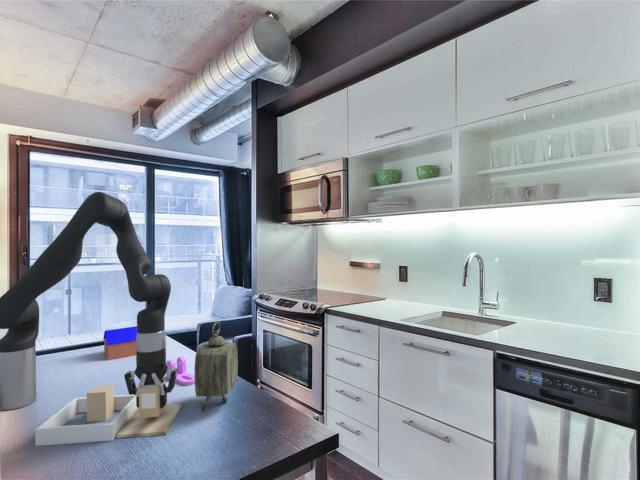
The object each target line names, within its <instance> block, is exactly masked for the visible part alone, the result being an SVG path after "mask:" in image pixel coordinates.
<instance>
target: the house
mask: <svg viewBox="0 0 640 480" xmlns="http://www.w3.org/2000/svg"><path fill="white" fill-rule="evenodd" d="M136 337H137V325H136V326H129V327H122V328H115V329H113V328H112V329H108V330H104V334H103V337H102V340H103V342H104V343H103V345H104V347H103V351H104V353H103V354H104V356H105V358H106V359H107V360H108V361H111V360H118V359H123V358H129V357H134V356H136Z"/></svg>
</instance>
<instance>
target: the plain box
mask: <svg viewBox="0 0 640 480" xmlns="http://www.w3.org/2000/svg"><path fill="white" fill-rule="evenodd" d="M114 387H115V386H114V384H109V385H108V384H105V385H94V386H93V388H90V390H89V391H87V392H86V397H87V412H86V422H87V423H88V422H89V423H91V422H104V421H105V422H106V421H107V420H108V419H109V418H110V417H111V416H112V415H113V414H114V412H115V410H114V396H115V392H114V390H115V389H114Z"/></svg>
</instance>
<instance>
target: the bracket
mask: <svg viewBox="0 0 640 480" xmlns="http://www.w3.org/2000/svg"><path fill="white" fill-rule="evenodd" d="M186 361H187V360H186V358H185V357H184V356H182V355H181V356H180V357H177V358H176V361H175V360H174V359H169V360H166V365H167V367H168V369H175V368H176V369H178V373H177V377H176V381H175V384H179V385H182V386H186V387H188V386H192V385H194V386H195V374H191V373H188V372H187V362H186ZM165 375H166V379H165V380H168V381H169V380H170V378H169V377H168V373H166V374H165Z"/></svg>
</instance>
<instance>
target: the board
mask: <svg viewBox="0 0 640 480" xmlns="http://www.w3.org/2000/svg"><path fill="white" fill-rule="evenodd" d="M182 407H183V403H171V404H168V403H166V405H165V406H164V409H163V411H162V412H161V414H160V415H159V417H145V418H139V408H138V410H137V411H136V412H135V413H134V414H133V416H132V417H131V418H130V419H129V421H128V422H127V423H126V424H125V425H124V427H123V428H122V429H121V430H120V432H119V433H118V434H117V436H116V439H118V438H119V439H124V438H137V437H149V436H150V437H151V436H165V435H167V433H168V432H169V430H170V428H171V426H172V425H173V423H174V421H175V419H176V418H177V416H178V414H179V413H180V411H181V409H182Z"/></svg>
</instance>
